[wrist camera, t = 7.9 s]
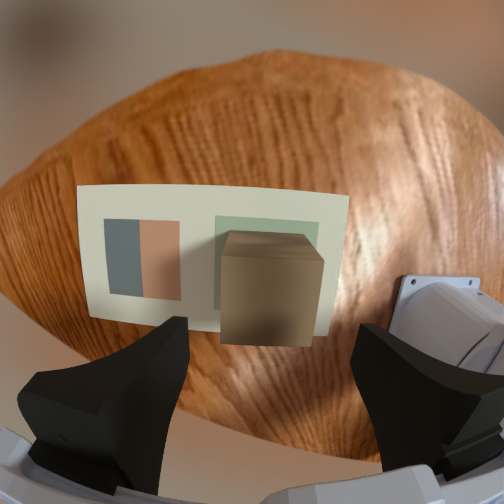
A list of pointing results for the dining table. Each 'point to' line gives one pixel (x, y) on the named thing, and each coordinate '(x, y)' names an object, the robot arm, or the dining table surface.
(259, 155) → the dining table surface
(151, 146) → the dining table surface
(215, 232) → the placemat
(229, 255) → the walnut block
